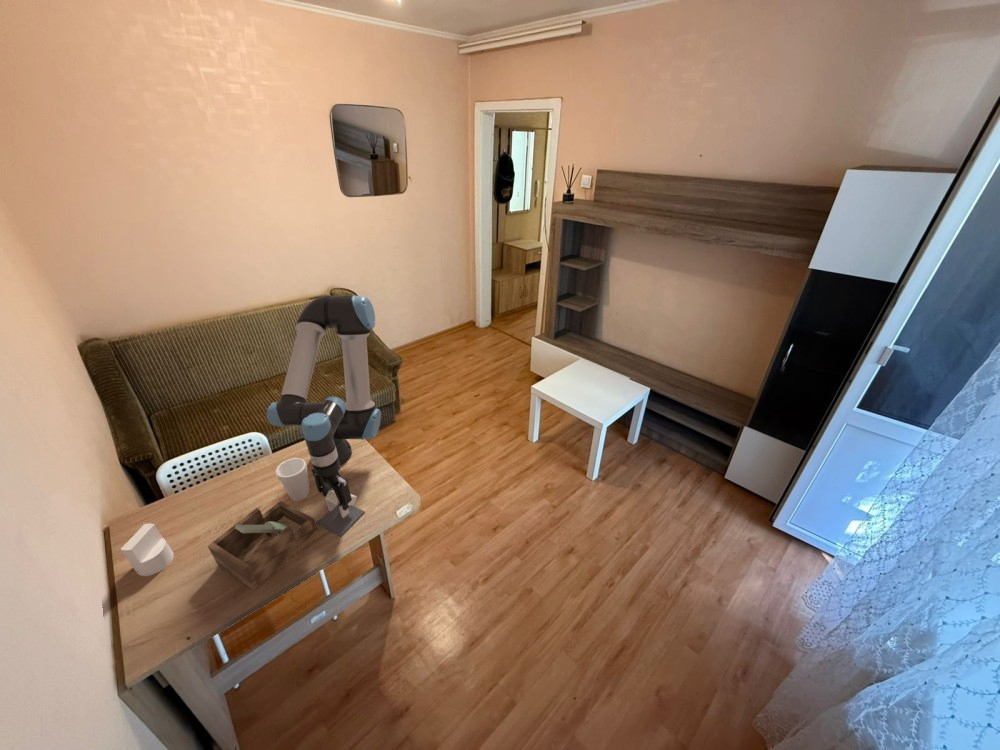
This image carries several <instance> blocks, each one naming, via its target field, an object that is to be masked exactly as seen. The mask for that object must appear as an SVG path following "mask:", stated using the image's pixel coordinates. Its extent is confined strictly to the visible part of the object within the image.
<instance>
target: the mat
mask: <svg viewBox="0 0 1000 750" xmlns="http://www.w3.org/2000/svg"><path fill="white" fill-rule="evenodd" d="M348 506H349V513H348V514H347V515H346V516H345V517H344V518H342V516H341V513H340V509H339V505H337V506H336V507H335V508H334V509H333V510H332V511H331V512H330V511H329V510H328V511H327V512H326V513H324V515H322V517H320V518H319V519H318V520H317V521H315V522H316V525H317V526H320V527H322V528H323V529H325V530H327V531H329V532H331V533H333V534H335V535H336V536H339V537H342V536H344V534H345V533H346V532H348V530H349V529H350V528H351V527H352V526H353V525H354V524H355V523H356V522H357V521H358V520H359V519H361V517H362V516H363V515H364V514H365V513H366V512H365V510H363V509H361V508H358V507H357V506H355V505H348Z"/></svg>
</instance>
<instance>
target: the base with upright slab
mask: <svg viewBox="0 0 1000 750" xmlns="http://www.w3.org/2000/svg"><path fill="white" fill-rule="evenodd" d="M120 550H121V552H122V553H123V555H124V556H125V558H127V561H128V563H129V565H130V566H131V567H132V568H133V569H134V571H135V572H136V573H137V574H138V575H139V576H140V577H150V576H153V575H155V574H157V573H158V574H159V573H160V572H161V571H163V570H164V569H165V568H167V567H168V566H169V565H170V564H171V562H172V561H173V559H174V555H175V554H174V552H173V550H172V548H171V546H170V545H169V543H168V542H167V541H166V539H165V538H164V537H163V536H162V535H161V532H159V530H158V528H157V526H156V524H154V523H144V524H143V525H142V526H141V527H140V528H139V529H138V530H137V531H136V532H135V533H134V534H133V535H132V537H130V539H128V541H127V542H126V543H125V544H124V545H123V546H122V547H121V548H120Z"/></svg>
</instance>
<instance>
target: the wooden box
mask: <svg viewBox="0 0 1000 750" xmlns="http://www.w3.org/2000/svg"><path fill="white" fill-rule="evenodd" d="M283 518H286V519H288V520H290V521H291V522H294V523H295V524H297V525H298V526H299V527H298V528H297V529H295V530H296V531H295V532H293V530H292V528H293V527H291V526H290V525H288V526H287V527H286V528H285V529H284V530H283V531H282V532H281V533H279V534H278V533H277V534H276V536H274V537H273V538H272V539H271V540H270V541H269V542H268V543H267V544H266V545H264V546H263V547H262V548H260V550H258V551H257V552H256V553H255V554H254V555H253V556H252V557H250V558H249V559H248V560H247V561H246V562H245V561H243V560H241V559H239V558H238V557H237V556H239V554H241V553H242V552H243V551H245V549H247V548H248V547H249V546H250V545H252V544H253V543H254V542H255V541H257V540H258V539H259V538H260V537H261V536H263V535H264V534H266V536H267V537H268V538H271V537H272V534H271V533H242V532H240V531H238V530H237V529H235V526H236V525H264V524H265V522H280V520H282V519H283ZM316 522H317V521H316V519H315V518H314V517H312V516H310V515H308V514H306V513H305V512H303V511H302V510H299V509H297V508H296V507H293V506H291V505H290V504H287V503H286V502H284V501H282V500H279V501H278V502H277V503H276V504H274V505H273V506H272V507H270V508H269V509H268V510H266V511H265V512H264V513H263V514H262V512H261V509H259V508H257V507H256V508H255V509H253V511H251V512H250V513H248V514H247V515H246V516H244V517H243V518H242V519H241V520H239V521H238V522H237V523H236V524H234V525H233V526H231V527H230V528H229V529H227V530H226V531H225V532H224V533H222V534H221V535H220V536H219V537H217V538H216V539H215V540H213V541H212V542H211V543H209V544H208V545H207V548H208V549H209V551H210V553H211V555H212V557H213V559H214V561H215V563H216V564H217V566H218V567H219V568H220V569H222V570H224V571H225V572H226V573H228V574H229V575H230V576H232V577H233V578H235V579H237V580H238V581H240V582H241V583H243V584H244V585H246V586H247V587H248V588H250V589H251V590H252V591H254V590H255V589H257V588H258V587H259V586H260V585H261V584H262V583H263V582H264V581H265V580H266V579H267V578H269V577H270V576H271V574H273V573H275V571H276V570H277V569H278V568H279V567H280V566H281V565H282V564H284V563H285V562H286V560H288V559H289V558H290V557H291V556H292V555H293V554H294V553H295V552H297V551H298V549H299V548H300V547H302V546H303V545H304V544H305V543H306V542H307V541H308V540H309V539H311V537H312V536H314V535H315V534H316V533H317V531H319V528H318V524H316Z"/></svg>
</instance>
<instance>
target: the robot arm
mask: <svg viewBox="0 0 1000 750" xmlns="http://www.w3.org/2000/svg"><path fill="white" fill-rule="evenodd" d="M375 325H376V314H375V309H374V307H373V303H372V302H371V300H370V299H369V298H368V297H366V296H363V295H361V296H360V295H328V294H327V295H321V296H318V297H316V298H314V299H312V301H310V302H309V303H308V304H306V306H305V307H304V308H303V310H302V311H301V312H300V314H299V316H298V318H297V321H296V324H295V329H296V331H297V333H296V337H295V342H294V345H293V349H292V352H291V353H292V354H291V356H290V360H289V365H288V368H287V372H286V375H285V378H284V384H283V386H282V390H281V394H280V398H279V401H276V402H275V401H273V402H271V403H270V405H269V406H268V408H267V411H266V418H267V421H268V423H269V424H270V425H272V426H275V427H285V428H287V427H301V431H302V436H303V438H304V441H305V444H306V447H307V450H308V453H309V457H310V462H311V464H312V468H313V469H311V473H312V475H313V477H314V478H313V479H314V482H315V484H316V488H317V491H318V493H319V494H321V493H322V496H323V497H324V499H325V498H326V496H327V493H328V491H329V490H333V491H334V492H335V494H336V496H337V498H338V500H339V503H338V505H339V509H340V513H341V516H342V518H344V517H345V516H346V515H347V514H348V513H349V506H348V503H349V502H350V501H351V500H352V498H351V494H352V493H351V491H350V488H349V479H348V478H342V477H341V476H342V475H341V474H340V472H339V470H340V468H341V466H342V465H344V464H345V463H347V462H348V461H349V460H350V459H351V456H352V454H353V451H352V446H351V443H350V442H349V441H348V440H362V441H364V440H372V439H375V437H376V436H377V435H378V433H379V430H380V425H381V419H382V413H381V410H380V409H379V408H376V403H375V402H374V401H373V400H371V389H370V386H371V385H370V374H369V373H370V372H369V358H368V357H369V355H368V344H367V343H368V341H367V338H368V337H369V336H370V334H371V330H373V329H374V328H375ZM328 329H336V330H335V331H336V335H337V336H338V337H340V339H341V347H342V348H341V349H342V350H341V351H342V360H343V361H342V363H343V373H344V386H345V387H344V388H345V398H346V402H345V401H344V400H343V399H342V398H341V397H338V396H332V395H331V396H328V397H326V398H325V399H324V400H323V401H322V402H307V398H308V393H309V389H310V387H311V386H310V385H311V381H312V377H313V373H314V370H315V364H316V360H317V358H318V357H317V356H318V351H319V347H320V343H321V340H322V337H324V336H325V335H326V332H327V330H328ZM325 502H326V504H327V508H328V511H330V512H331V511H332V510H333V509H334V508H335V507H336V506H337V505H336V504H334V503H332V502H330V501H328V500H326V499H325Z"/></svg>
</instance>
